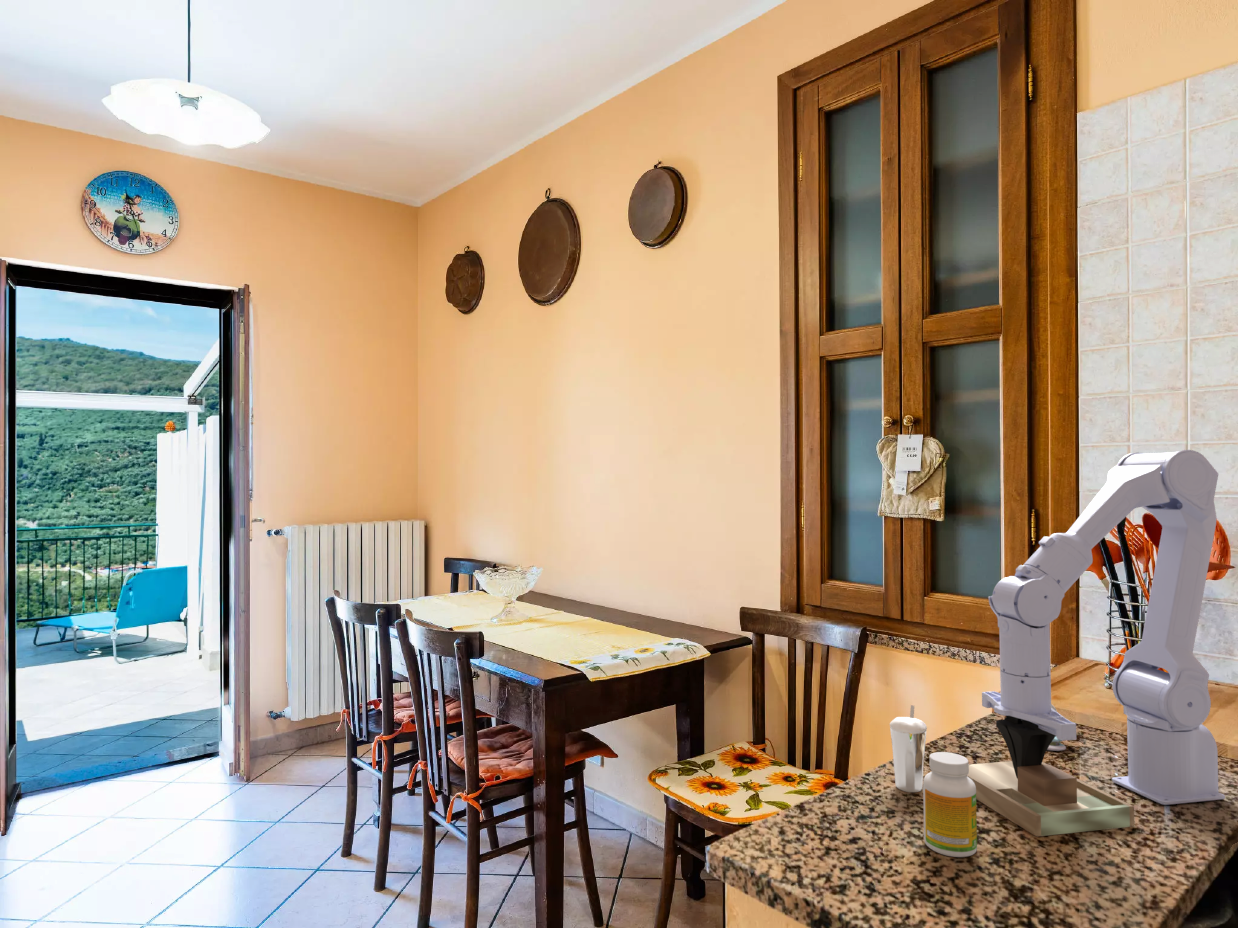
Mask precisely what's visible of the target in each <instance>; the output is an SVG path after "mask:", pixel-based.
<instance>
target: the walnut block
mask: <svg viewBox="0 0 1238 928" xmlns="http://www.w3.org/2000/svg"><path fill="white" fill-rule="evenodd" d="M1047 764H1048V763H1047ZM1017 768H1018V792H1020V793H1022V794H1024V795H1026V796H1027V797H1029V798H1031V799H1033V800H1034V801H1036V802H1038V803H1040V804H1041V805H1043V806H1050V805H1061V804H1072V803H1077V779H1078V777H1077V776H1073V775H1072V774H1070V773H1068V772H1066V771H1063V770H1061V769H1059V768H1057V767H1055V766H1053V765H1051V764H1048V765H1036V766H1024V767H1017Z"/></svg>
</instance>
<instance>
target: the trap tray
mask: <svg viewBox="0 0 1238 928" xmlns="http://www.w3.org/2000/svg"><path fill="white" fill-rule="evenodd" d="M1041 765H1048V763H1045V762H1044V761H1042V764H1041ZM967 777H969V778H970V779H971V780H972V781H973V782H974V784H975V786H976V801H978V802H981V804H983V805H985V806H987V807H989V808H990V809H991V810H992V811H995V812H996V813H998V814H1000V815H1001V816H1003V817H1004V818H1006V819H1007V820H1009V821H1010V822H1012V823H1014V824H1015V825H1017V826H1019V827H1020V828H1022V829H1024V830H1025V831H1027V832H1028V833H1030V834H1032V835H1033V836H1035V837H1044V836H1045V837H1046V836H1052V835H1053V836H1054V835H1064V834H1073V833H1080V832H1081V833H1083V832H1092V831H1102V830H1112V829H1120V828H1121V829H1122V828H1130V827H1135V806H1134V805H1132V804H1130V803H1128V802H1126V801H1124V800H1122V799H1119V797H1118V798H1117V797H1115V796H1114V795H1112V794H1110V793H1108V792H1105V791H1104V790H1101V789H1100V788H1097V787H1095V786H1092V785H1091V784H1089V783H1087V782H1084V781H1083V780H1081V779H1078V778H1077V803H1072V804H1061V805H1050V806H1043V805H1041V804H1040V803H1038V802H1036V801H1034V800H1033V799H1031V798H1029V797H1027V796H1026V795H1024V794H1022V793H1020V792H1018V779H1017V777H1016V774H1015V770H1014V767H1013V763H1012V760H1008V761H998V762H995V761H994V762H986V763H985V762H984V763H973V764H969V774H968V775H967Z"/></svg>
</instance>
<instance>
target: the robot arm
mask: <svg viewBox="0 0 1238 928" xmlns="http://www.w3.org/2000/svg"><path fill="white" fill-rule="evenodd" d="M1218 478H1219V472H1218V471H1217V470H1216V468H1214V466H1213V465H1212V464H1211V462H1210V461H1209V460H1208V459H1207V458H1206V456H1204V454H1202V453H1201V452H1199V451H1196V450H1192V449H1184V450H1183V449H1182V450H1178V451H1165V452H1164V451H1163V452H1146V453H1145V452H1139V451H1138V452H1131V453H1130V452H1129V453H1128V454H1125V455H1124V456H1123V457H1122V458H1120V459H1119V461H1118V462H1117V464H1116V465H1115V466H1113V467H1112V468H1111V469H1110V470H1108V472H1107V477H1106V483H1105V484H1104V485H1103V486H1102V488H1101V489H1100V490H1099V491H1098V493H1096V495H1095V496H1094V497H1093V499H1092V500H1091V501H1090V502H1089V503H1088V505H1087V506H1086V508H1084V509H1083V511H1082V513H1081V514H1080V515H1079V516H1078V517H1077V519H1076V520H1075V521H1074V522H1073V523H1072V525H1071V526H1070V527H1069V529H1068V530H1067V531H1066V532H1056V533H1055V532H1054V533H1052V534H1050V535H1049V536H1043V537H1042V538H1041V539H1040V540H1039V541H1038V544H1039V547H1038V548H1037V549H1036V551H1034V552H1033V553H1032V555H1031V556H1029V558H1028V559H1027V560H1026V561H1025V562H1024V563H1023V565H1022V564H1019V565H1018V566H1017V567H1016V568H1015V573H1014V575H1009V576H1007V577H1006V576H1005V577H1003V578H1002V579H1001V580H999V581H998V582H997V583H996V585H995V586H994V588H993V591H992V595H990V596H988V598H987V599H988V604H989V607H990V609H991V610H992V612H993V613H994V614H995V617H996V618H997V628H998V629H999V631H998V633H999V676H1000V677H999V679H1000V680H999V681H1000V683H999V685H1000V692H997V691H995V690H991V691H982V692H981V706H982V707H984V708H986V709H993V711H994V713H996V714H997V715H1001V716H1004V719H997V720H996V722H995V726H996V728H997V729H998V730H999V733H1000V734H1001V737H1003V741H1004V742H1005V745H1006V747H1007V749H1008V754H1009V755H1010V761H1012V763H1013V767H1014V770H1015V774H1016V777H1017V779H1018V768H1017V767H1024V766H1036V765H1041V764H1042V762H1044V759H1045V755H1046V752H1047V751H1048V750H1047V749H1048V747H1049V745H1050V744H1051V742H1052V741H1053V739H1054V738H1055V737H1056V738H1057V739H1059V740H1062V741H1061V742H1064V741H1075V740H1077V723H1076V722H1073V721H1071V720H1069V719H1068V718H1066V717H1065V716H1064V715H1062V714H1060V713H1059V712H1058V711H1057V712H1056V711H1055V710H1054V709H1052V708H1051V704H1052V677H1051V676H1052V674H1051V673H1052V672H1051V631H1050V629H1051V626H1050V625H1051V624H1052V622H1053V621H1054V620H1056V619H1058V617H1059V616H1060V613H1061V610H1062V602H1063V599H1064V598H1065V596H1066V595H1065V594H1066V592H1067V591H1068V590H1069V589H1071V587H1072V586H1073V585H1074V583H1076V581H1078V579H1080V577H1081V576H1082V575H1083V574H1084V573H1085V572H1086V571H1087V570H1088V569H1089V567H1090V566H1091V565H1092V564H1093V561H1094V559H1093V553H1092V550H1093V548H1094V547H1095V546H1097V545H1098V543H1100V542H1101V541H1102V540H1103V539H1104V538H1105V536H1107V535H1108V534H1110V532H1111V531H1112V530H1113V529H1115V527H1117V525H1119V524H1120V523H1121V522H1122V521H1123V520H1124V519H1125V518H1126V517H1127V516H1128V515H1129V514H1131V512H1132V511H1134V510H1135V509H1137V508H1143V509H1144V510H1146V511H1148V512H1149V513H1150V514H1152V516H1153V517H1154V518H1155V519H1156V520H1157V521H1158V523H1159V524H1160V525H1161V528H1162V529H1161V535H1160V539H1159V545H1158V551H1157V556H1156V560H1155V565H1154V566H1155V567H1154V572H1153V577H1152V583H1151V584H1152V585H1151V587H1150V588H1151V589H1150V594H1149V600H1148V603H1147V609H1146V610H1147V611H1146V616H1145V620H1144V626H1143V631H1142V636H1141V640H1140V642H1138V643H1136V645H1134V646H1133V647H1130V648H1129V649H1128V650H1126V651H1125V652H1124V655H1123V661H1122V663H1121V665H1120V667H1119V668H1118V670H1117V671H1116V672H1115V673H1114V677H1113V680H1112V692H1113V695H1114V697H1115V699H1116V701H1117V702H1118V703H1119V704H1120V705H1122V707H1123V714H1124V715H1126V717H1127V718H1126V726H1127V729H1126V730H1127V775H1126V776H1118V777H1117V776H1116V777H1111V782H1113V783H1115V784H1117V785H1119V786H1121V787H1123V788H1126V789H1128V790H1129V791H1131V792H1135V793H1137V794H1138V795H1140V796H1142V797H1145V798H1147V799H1149V800H1151V801H1154V802H1156V803H1157V804H1160V805H1163V806H1164V805H1165V806H1167V805H1169V806H1170V805H1176V804H1177V805H1179V804H1188V803H1197V802H1198V803H1199V802H1209V801H1216V800H1217V801H1218V800H1226V795H1225V794H1224V793H1221V792H1219V762H1218V759H1219V757H1218V753H1219V751H1218V745H1217V741H1216V739H1215V737H1214V736H1213V733H1212V732H1211V730H1209V728H1207V726H1206V725H1204V724H1203V723H1204V722H1206V720H1207V719H1208V716H1209V714H1210V712H1211V707H1212V705H1211V703H1212V702H1211V697H1210V693H1209V687H1208V685H1209V677H1210V674H1209V671H1208V670H1207V669H1206V667H1204V665H1202V663H1201V662H1200V661H1199V660H1198V658H1197V657H1196V656H1195V655H1194V647H1195V643H1196V642H1195V641H1196V637H1197V631H1198V625H1199V619H1200V614H1201V609H1202V604H1203V600H1204V599H1203V598H1204V592H1205V586H1206V583H1207V582H1206V581H1207V576H1208V570H1209V565H1210V559H1211V554H1212V549H1213V542H1214V537H1215V532H1216V526H1217V519H1218V518H1217V512H1216V505H1215V495H1216V490H1217V484H1218V480H1219V479H1218ZM1160 668H1161V669H1164V670H1165V671H1163V670H1161V669H1160ZM1159 669H1160V670H1159Z"/></svg>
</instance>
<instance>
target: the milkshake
mask: <svg viewBox="0 0 1238 928" xmlns="http://www.w3.org/2000/svg"><path fill="white" fill-rule="evenodd" d="M909 715H910V716H896V717H894V718H893V719H892V720H891V721H890V722H889V731H890V737H891V738H890V739H891V747H892V758H893V759H892V760H893V770H894V771H893V772H894V782H895V784H894V785H895V787H896V788H897V789H899V790H901V791H903V792H907V793H918V792H921V791H923V781H924V767H925V764H924V763H925V751H926V739H927V729H928V727H927V724H926V723H925V722H924V721H923V720H922V719H919V718H916V717H915V716H914V715H915V705H911V704H910V713H909Z"/></svg>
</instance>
